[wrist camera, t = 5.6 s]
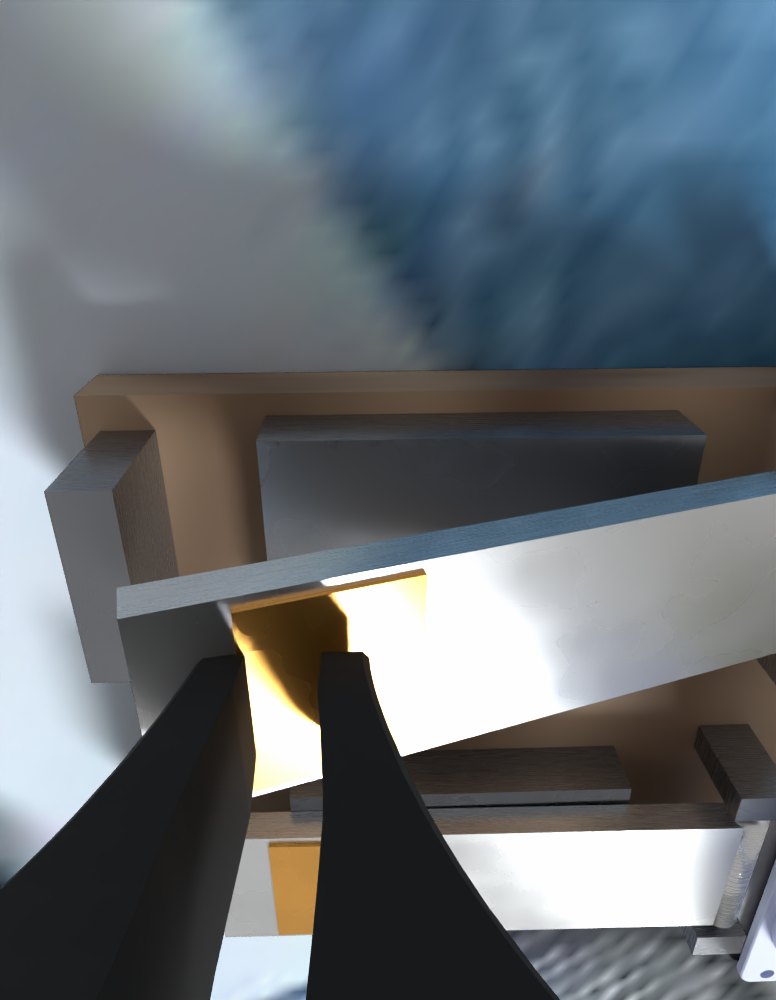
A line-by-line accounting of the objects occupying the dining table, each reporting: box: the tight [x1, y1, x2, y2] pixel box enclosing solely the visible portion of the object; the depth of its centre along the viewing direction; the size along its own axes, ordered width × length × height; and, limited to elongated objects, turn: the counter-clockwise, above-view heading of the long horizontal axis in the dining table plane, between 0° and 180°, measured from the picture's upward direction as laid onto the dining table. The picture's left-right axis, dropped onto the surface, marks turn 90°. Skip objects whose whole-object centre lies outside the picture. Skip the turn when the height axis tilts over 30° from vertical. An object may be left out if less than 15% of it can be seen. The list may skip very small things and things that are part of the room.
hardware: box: [44, 410, 776, 955], centre depth 17 cm, size 16×16×3 cm
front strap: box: [117, 471, 776, 797], centre depth 13 cm, size 14×4×1 cm, turn 90°
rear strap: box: [225, 803, 770, 937], centre depth 19 cm, size 14×4×1 cm, turn 90°
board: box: [74, 367, 776, 813], centre depth 19 cm, size 18×16×2 cm
